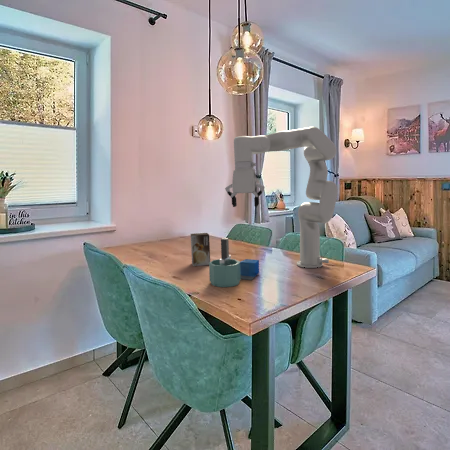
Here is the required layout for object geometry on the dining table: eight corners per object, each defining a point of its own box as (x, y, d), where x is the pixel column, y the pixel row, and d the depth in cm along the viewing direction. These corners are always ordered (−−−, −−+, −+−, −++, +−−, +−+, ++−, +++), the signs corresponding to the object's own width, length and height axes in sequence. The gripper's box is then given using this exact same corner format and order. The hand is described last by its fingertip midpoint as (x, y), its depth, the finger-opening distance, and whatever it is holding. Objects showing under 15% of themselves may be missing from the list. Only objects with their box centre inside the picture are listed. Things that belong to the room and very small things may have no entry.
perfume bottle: (254, 263, 154) (229, 261, 159) (254, 276, 155) (229, 274, 160) (258, 260, 160) (234, 258, 165) (259, 273, 161) (234, 270, 166)
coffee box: (208, 262, 186) (207, 232, 183) (210, 265, 179) (209, 234, 177) (191, 263, 184) (190, 233, 182) (192, 266, 178) (191, 235, 175)
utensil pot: (243, 279, 152) (242, 259, 151) (234, 288, 141) (233, 266, 140) (216, 277, 156) (216, 258, 155) (206, 285, 145) (205, 264, 144)
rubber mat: (257, 274, 160) (257, 273, 160) (251, 280, 151) (251, 279, 151) (232, 272, 164) (232, 272, 164) (225, 278, 155) (225, 277, 155)
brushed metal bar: (231, 277, 153) (230, 236, 151) (225, 283, 144) (223, 240, 142) (226, 276, 154) (225, 236, 151) (219, 282, 145) (218, 240, 143)
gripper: (265, 165, 148) (267, 205, 151) (227, 167, 154) (229, 205, 157) (261, 165, 141) (262, 207, 144) (221, 167, 147) (223, 207, 150)
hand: (245, 206), depth 150 cm, fingers open, 9 cm apart
